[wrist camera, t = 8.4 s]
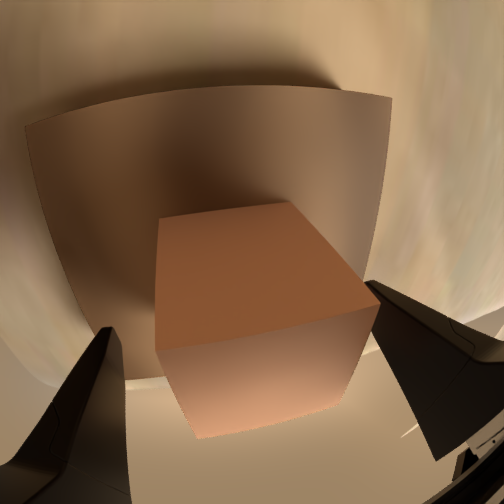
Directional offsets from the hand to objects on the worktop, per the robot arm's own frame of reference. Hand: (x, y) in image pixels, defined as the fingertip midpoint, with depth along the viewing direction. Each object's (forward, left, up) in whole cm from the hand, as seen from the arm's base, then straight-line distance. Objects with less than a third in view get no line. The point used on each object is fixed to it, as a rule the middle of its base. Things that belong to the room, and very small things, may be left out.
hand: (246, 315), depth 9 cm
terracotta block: (0, 0, -3) cm, 3 cm away
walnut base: (0, 0, -7) cm, 7 cm away
